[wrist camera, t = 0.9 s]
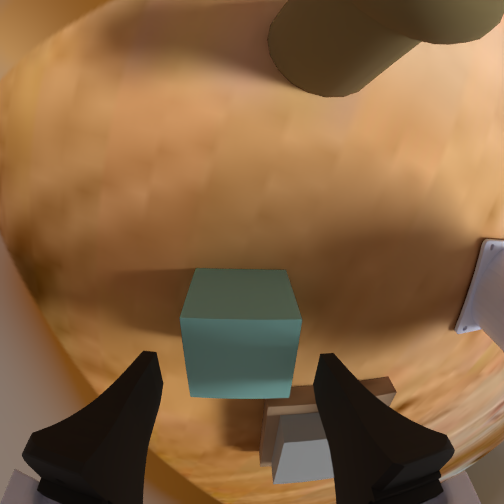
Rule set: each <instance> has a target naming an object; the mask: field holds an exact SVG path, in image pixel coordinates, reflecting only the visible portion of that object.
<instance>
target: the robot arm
mask: <svg viewBox="0 0 504 504" xmlns="http://www.w3.org/2000/svg"><path fill="white" fill-rule="evenodd" d="M480 329H482V330H483V331H484V332H485V333H486V334H487V335H488V336H489V337H490V338H491V339H492V340H493V341H494V342H495V343H496V344H497V345H498V346H499V347H500V348H501V349H502V350H503V352H504V240H495V239H485V240H484V241H483V243H482V246H481V250H480V254H479V258H478V261H477V265H476V268H475V272H474V275H473V279H472V282H471V285H470V288H469V291H468V294H467V297H466V300H465V303H464V305H463V308H462V311H461V314H460V316H459V319H458V321H457V324H456V326H455V332H456V333H457V334H461V333H466V332H471V331H475V330H480ZM313 388H314V394H315V400H316V405H317V409H318V412H319V415H320V418H321V422H322V425H323V428H324V431H325V435H326V438H327V441H328V445H329V449H330V455H331V461H332V467H333V474H334V482H335V492H336V504H481V503H480V501H479V498H478V496H477V494H476V492H475V490H474V487H473V485H472V483H471V481H470V479H469V477H468V475H467V473H466V471H463V472H461V473H459V474H457V475H455V476H453V477H451V478H449V479H447V480H445V481H443V482H442V483H440V481H439V478H440V477H441V474H440V471H439V470H440V469H441V468H442V467H443V466H444V465H445V464H446V463H447V462H448V461H449V460H450V459H451V457H452V456H453V454H454V452H455V450H454V448H453V446H452V444H451V442H450V440H449V439H448V437H447V435H445V434H442V433H439V432H436V431H434V430H431V429H428V428H426V427H424V426H422V425H419V424H417V423H415V422H413V421H411V420H409V419H408V418H406V417H404V416H403V415H401V414H399V413H398V412H396V411H394V410H393V409H391V408H390V407H389V406H387V405H386V404H385V403H383V402H382V401H381V400H379V399H378V398H377V397H376V396H375V395H373V394H372V393H371V392H370V391H369V390H368V389H367V388H366V387H365V386H364V385H363V384H362V383H361V382H360V381H359V380H358V379H357V378H356V377H355V376H354V375H353V374H352V373H351V372H350V371H349V370H348V369H347V368H346V367H345V365H344V364H343V363H342V362H341V361H340V360H339V359H338V358H337V356H336V355H335V354H334V353H328V354H320V358H319V362H318V367H317V371H316V375H315V379H314V383H313ZM162 389H163V380H162V376H161V371H160V367H159V362H158V358H157V353H156V352H150V351H143V352H142V353H141V354H140V355H139V356H138V357H137V358H136V359H135V361H134V362H133V363H132V364H131V365H130V366H129V367H128V368H127V369H126V371H125V372H124V373H123V374H122V375H121V376H120V377H119V378H118V379H117V380H116V381H115V382H114V383H113V384H112V385H111V386H110V387H109V388H108V389H107V390H106V391H104V392H103V393H102V394H101V395H100V396H99V397H98V398H96V399H95V400H94V401H93V402H91V403H90V404H89V405H87V406H86V407H84V408H83V409H81V410H80V411H78V412H77V413H75V414H73V415H72V416H70V417H68V418H66V419H65V420H63V421H61V422H58V423H57V424H54V425H52V426H50V427H47V428H44V429H42V430H39V431H36V432H33V433H32V435H31V436H30V439H29V440H28V443H27V444H26V447H25V449H24V451H23V453H22V457H23V459H24V461H26V463H27V464H28V465H29V466H30V467H31V468H32V469H33V470H34V471H35V472H36V473H37V474H39V476H40V477H41V480H40V482H38V481H37V480H35V479H34V478H32V477H30V476H28V475H26V474H24V473H22V472H20V471H18V470H16V469H14V471H13V474H12V476H11V478H10V481H9V483H8V486H7V488H6V491H5V493H4V496H3V498H2V501H1V504H143V487H144V474H145V464H146V456H147V450H148V445H149V441H150V437H151V433H152V430H153V426H154V423H155V420H156V416H157V413H158V409H159V406H160V402H161V395H162Z"/></svg>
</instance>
